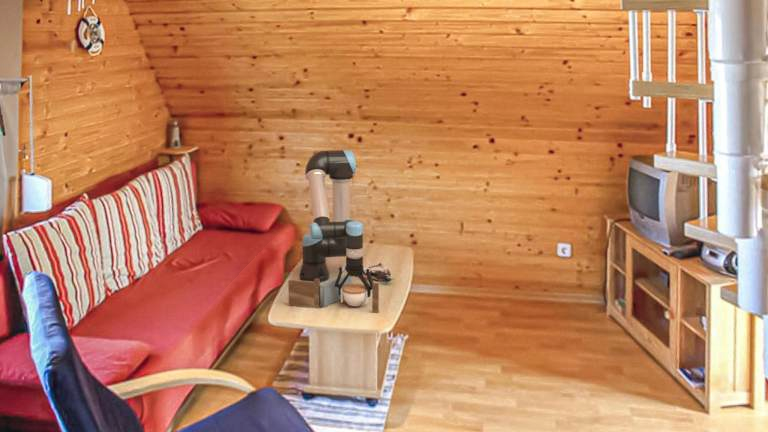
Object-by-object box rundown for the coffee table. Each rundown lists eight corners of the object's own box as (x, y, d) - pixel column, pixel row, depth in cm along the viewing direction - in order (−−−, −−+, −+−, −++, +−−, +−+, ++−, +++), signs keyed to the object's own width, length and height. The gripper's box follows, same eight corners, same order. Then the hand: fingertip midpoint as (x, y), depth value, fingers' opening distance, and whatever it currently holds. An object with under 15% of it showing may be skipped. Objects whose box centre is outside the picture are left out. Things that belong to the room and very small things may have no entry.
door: (319, 307, 319) (318, 286, 316) (348, 293, 336) (348, 273, 333) (321, 308, 318) (321, 287, 315) (351, 294, 335) (351, 274, 333)
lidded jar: (345, 309, 315) (345, 289, 312) (340, 300, 325) (340, 281, 322) (369, 306, 318) (369, 287, 315) (362, 298, 328) (363, 279, 325)
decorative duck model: (396, 273, 345) (366, 274, 342) (395, 287, 348) (365, 288, 344) (389, 261, 359) (360, 262, 356) (388, 274, 362) (359, 275, 358)
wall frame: (290, 304, 323) (289, 276, 319) (378, 311, 316) (378, 282, 312) (288, 306, 321) (288, 278, 317) (377, 313, 314) (378, 284, 310)
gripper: (327, 257, 314) (327, 303, 320) (378, 260, 310) (378, 307, 316) (331, 252, 321) (331, 297, 327) (381, 255, 317) (381, 301, 323)
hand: (354, 302), depth 321 cm, fingers closed on lidded jar, 11 cm apart
